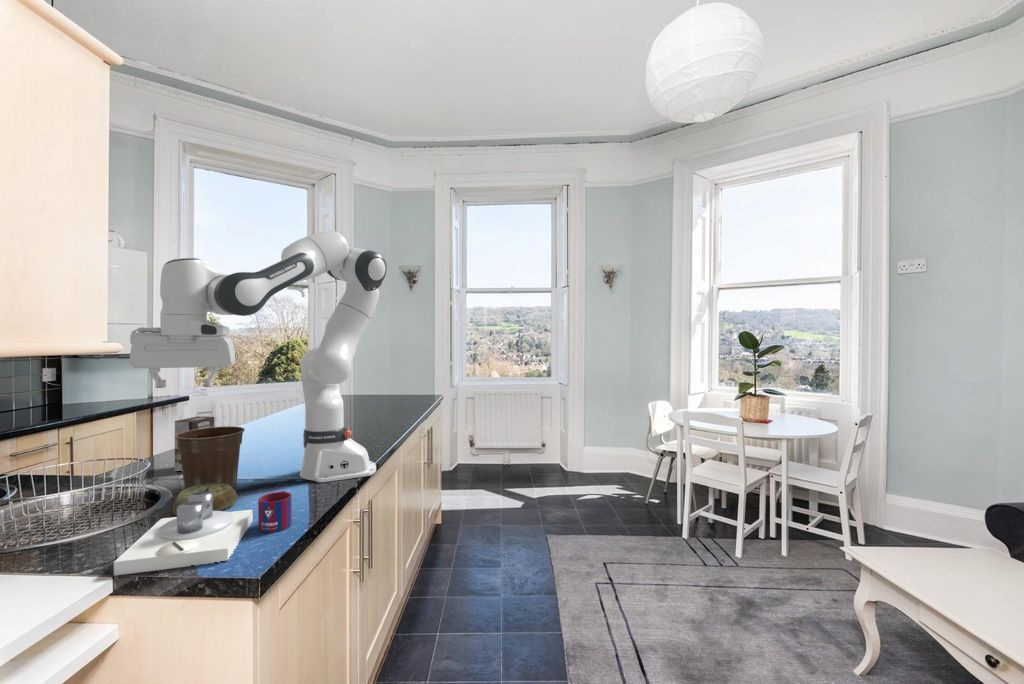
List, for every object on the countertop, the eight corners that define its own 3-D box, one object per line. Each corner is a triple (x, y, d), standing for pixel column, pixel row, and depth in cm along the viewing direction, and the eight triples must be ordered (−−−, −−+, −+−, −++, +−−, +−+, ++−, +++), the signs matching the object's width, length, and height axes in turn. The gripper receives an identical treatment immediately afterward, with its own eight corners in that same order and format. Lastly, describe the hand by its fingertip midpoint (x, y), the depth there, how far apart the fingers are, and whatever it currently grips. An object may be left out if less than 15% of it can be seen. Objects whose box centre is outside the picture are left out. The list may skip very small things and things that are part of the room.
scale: (252, 520, 107) (252, 506, 107) (226, 562, 87) (226, 545, 87) (161, 529, 101) (161, 514, 101) (112, 577, 82) (112, 558, 82)
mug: (252, 533, 100) (252, 502, 100) (273, 515, 110) (273, 487, 110) (284, 532, 100) (284, 502, 100) (302, 514, 110) (302, 486, 110)
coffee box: (192, 473, 141) (191, 421, 141) (173, 472, 142) (173, 421, 142) (215, 464, 150) (215, 416, 150) (197, 463, 151) (197, 415, 151)
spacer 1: (216, 516, 101) (216, 493, 101) (193, 523, 97) (193, 499, 97) (207, 511, 103) (207, 489, 103) (185, 518, 100) (184, 495, 100)
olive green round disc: (200, 522, 106) (200, 501, 106) (158, 515, 110) (158, 494, 110) (249, 501, 119) (249, 482, 119) (210, 496, 123) (210, 477, 123)
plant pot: (188, 482, 133) (187, 427, 133) (250, 477, 138) (250, 424, 138) (165, 502, 117) (164, 440, 117) (236, 495, 123) (236, 436, 122)
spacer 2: (207, 528, 95) (207, 504, 95) (183, 536, 91) (183, 511, 91) (197, 523, 97) (196, 500, 97) (173, 530, 93) (172, 506, 93)
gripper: (123, 327, 100) (123, 390, 100) (229, 328, 106) (229, 387, 106) (137, 327, 106) (137, 386, 106) (237, 328, 112) (237, 384, 112)
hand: (184, 387), depth 106 cm, fingers open, 8 cm apart
